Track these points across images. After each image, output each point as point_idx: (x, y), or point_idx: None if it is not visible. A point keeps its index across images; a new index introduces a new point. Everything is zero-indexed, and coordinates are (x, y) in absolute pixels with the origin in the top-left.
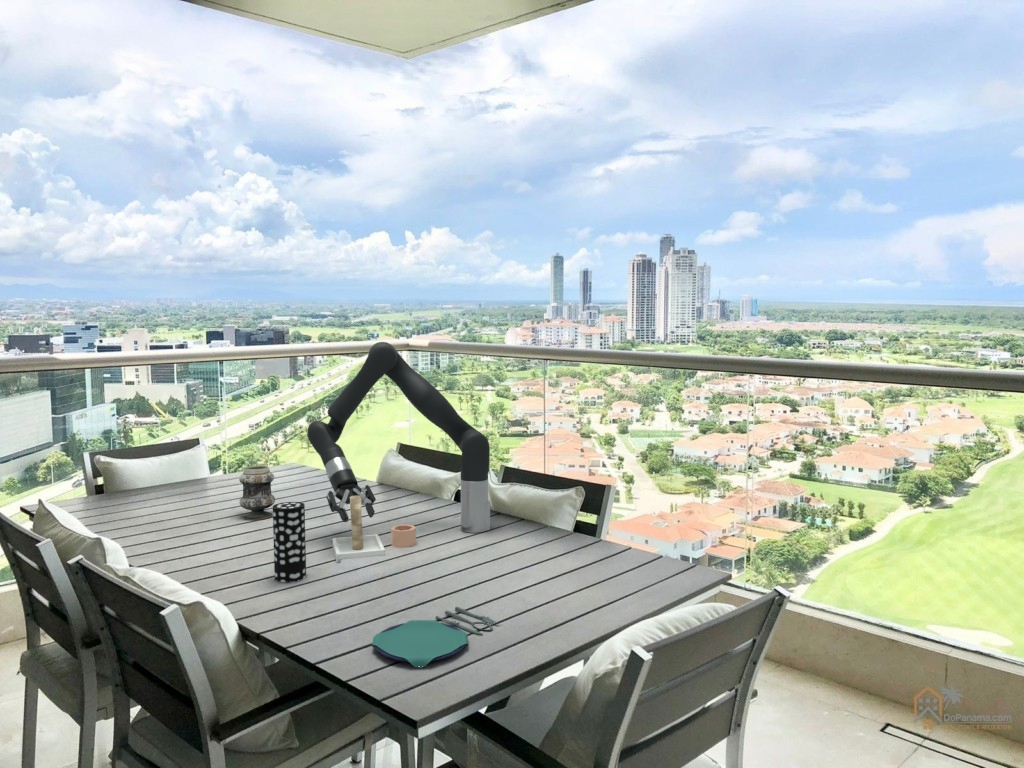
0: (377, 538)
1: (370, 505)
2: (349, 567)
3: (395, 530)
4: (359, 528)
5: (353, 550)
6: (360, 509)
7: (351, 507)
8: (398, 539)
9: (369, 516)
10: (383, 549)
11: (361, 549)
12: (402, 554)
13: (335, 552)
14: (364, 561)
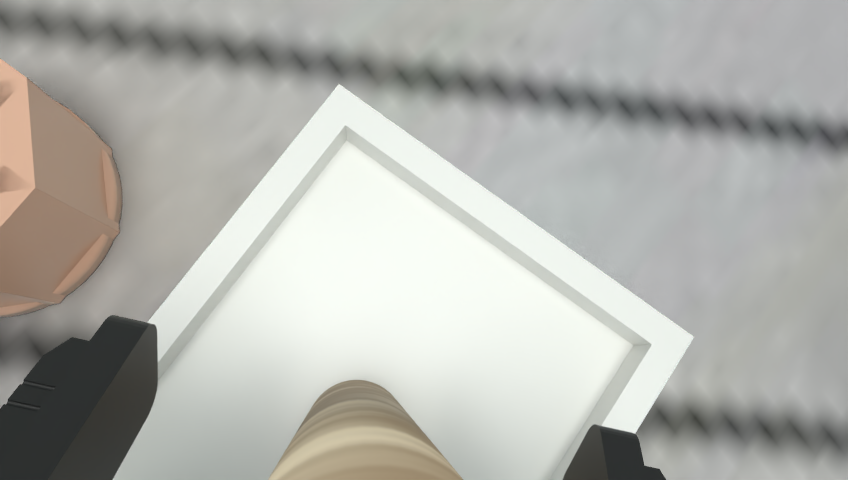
0: None
1: (12, 450)
2: (659, 177)
3: (28, 146)
4: (374, 397)
5: (418, 422)
6: (335, 426)
7: None
8: (72, 137)
9: (144, 414)
10: (338, 104)
11: None
12: (183, 69)
13: None
14: (496, 189)
